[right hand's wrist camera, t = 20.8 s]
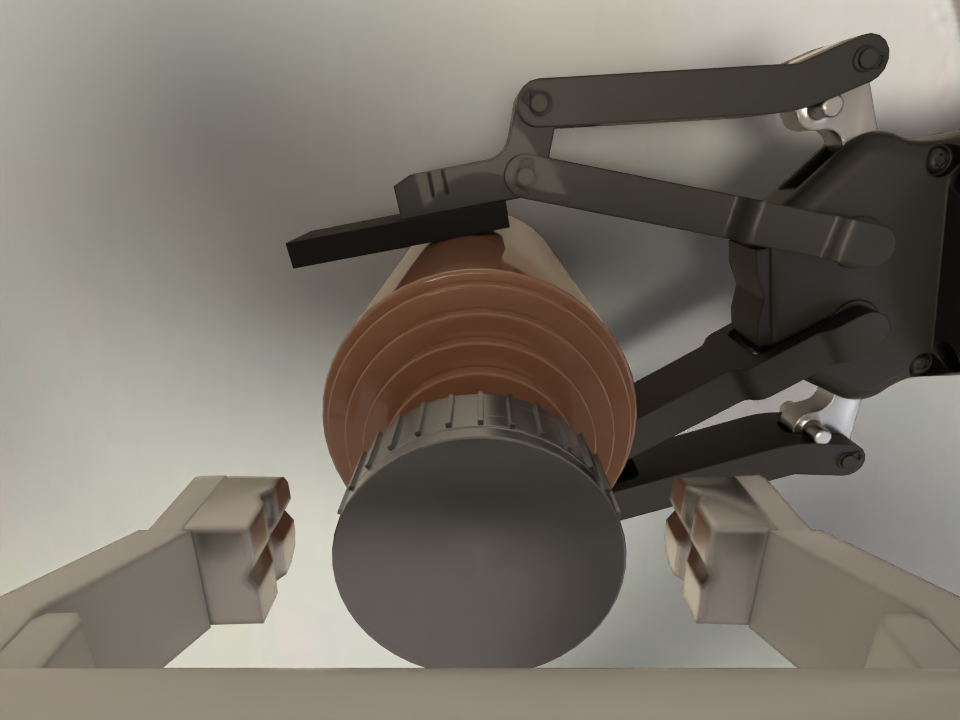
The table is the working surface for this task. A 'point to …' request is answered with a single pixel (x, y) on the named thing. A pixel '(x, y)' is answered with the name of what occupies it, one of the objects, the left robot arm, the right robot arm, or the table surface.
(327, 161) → the table surface
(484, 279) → the bottle
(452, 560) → the cap
